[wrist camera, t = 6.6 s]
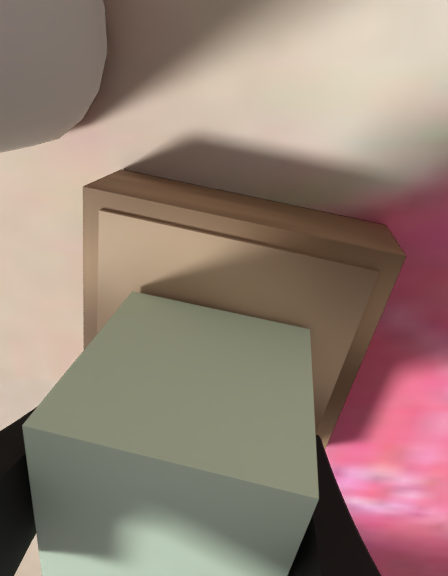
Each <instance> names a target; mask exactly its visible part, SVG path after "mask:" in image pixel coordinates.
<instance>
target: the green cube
mask: <svg viewBox="0 0 448 576" xmlns="http://www.w3.org/2000/svg"><path fill="white" fill-rule="evenodd" d="M22 428H23V436H24V443H25V451H26V458H27V466H28V473H29V481H30V488H31V496H32V503H33V511H34V518H35V526H36V533H37V541H38V548H39V556H40V563H41V571H42V576H287V575H288V573H289V571H290V568H291V566H292V563H293V561H294V558H295V556H296V554H297V551H298V549H299V546H300V544H301V541H302V539H303V537H304V534H305V532H306V529H307V527H308V524H309V522H310V520H311V517H312V515H313V512H314V510H315V508H316V505H317V503H318V500H319V490H318V471H317V452H316V434H315V415H314V396H313V377H312V358H311V340H310V329H307V328H302V327H297V326H293V325H288V324H283V323H279V322H274V321H269V320H265V319H260V318H255V317H251V316H246V315H241V314H237V313H232V312H227V311H223V310H218V309H213V308H208V307H204V306H199V305H194V304H190V303H185V302H180V301H176V300H171V299H166V298H162V297H157V296H152V295H148V294H143V293H138V292H134V291H132V292H131V294H130V295H129V296H128V297H127V299H126V300H125V301H124V302H123V303H122V305H121V306H120V307H119V308H118V309H117V311H116V312H115V313H114V314H113V316H112V317H111V318H110V319H109V320H108V322H107V323H106V324H105V325H104V326H103V328H102V329H101V330H100V331H99V333H98V334H97V335H96V336H95V337H94V339H93V340H92V341H91V342H90V344H89V345H88V346H87V347H86V348H85V350H84V351H83V352H82V353H81V354H80V356H79V357H78V358H77V359H76V361H75V362H74V363H73V364H72V365H71V367H70V368H69V369H68V370H67V371H66V373H65V374H64V375H63V376H62V378H61V379H60V380H59V381H58V382H57V384H56V385H55V386H54V387H53V389H52V390H51V391H50V392H49V393H48V395H47V396H46V397H45V398H44V399H43V401H42V402H41V403H40V404H39V406H38V407H37V408H36V409H35V410H34V412H33V413H32V414H31V415H30V416H29V418H28V419H27V420H26V421H25V423H24V424H23V425H22Z"/></svg>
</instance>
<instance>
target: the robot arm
mask: <svg viewBox="0 0 448 576" xmlns="http://www.w3.org/2000/svg"><path fill="white" fill-rule="evenodd" d="M36 408H37V407H36ZM36 408H35V409H36ZM35 409H33V410H32V411H30V412H29V413H27V414H26V415H24V416H23V417H21V418H20V419H18V420H17V421H15V422H14V423H12V424H11V425H9V426H8V427H6V428H4V429H3V430H1V431H0V576H14V574H15V572H16V571H17V569H18V567H19V565H20V563H21V561H22V559H23V557H24V555H25V553H26V551H27V549H28V547H29V545H30V543H31V542H32V540H33V538H34V536H35V535H36V526H35V518H34V511H33V503H32V496H31V488H30V481H29V473H28V466H27V458H26V451H25V443H24V436H23V428H22V425H23V424H24V423H25V421H26V420H27V419H28V418H29V416H30V415H31V414H32V413H33V412H34V410H35ZM316 452H317V471H318V490H319V500H318V503H317V505H316V508H315V510H314V512H313V515H312V517H311V520H310V522H309V524H308V527H307V529H306V532H305V534H304V537H303V539H302V541H301V544H300V546H299V549H298V551H297V554H296V556H295V558H294V561H293V563H292V566H291V568H290V571H289V573H288V575H287V576H381V574H380V572H379V571H378V569H377V567H376V565H375V563H374V562H373V560H372V558H371V556H370V554H369V552H368V550H367V548H366V546H365V544H364V542H363V540H362V538H361V536H360V534H359V532H358V530H357V528H356V526H355V524H354V521H353V519H352V517H351V515H350V513H349V510H348V508H347V506H346V503H345V501H344V499H343V496H342V494H341V492H340V489H339V487H338V484H337V482H336V479H335V477H334V474H333V471H332V469H331V466H330V463H329V461H328V458H327V455H326V452H325V449H324V446H323V443H322V439H321V438H320V436H319V435H316Z"/></svg>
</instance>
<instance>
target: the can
mask: <svg viewBox="0 0 448 576" xmlns="http://www.w3.org/2000/svg"><path fill="white" fill-rule="evenodd" d="M106 56H107V36H106V18H105V5H104V2H103V0H0V153H1V152H6V151H10V150H15V149H20V148H25V147H30V146H34V145H37V144H41V143H44V142H48V141H51V140H55V139H59V138H60V137H61V136H62V135H64V134H65V133H66V132H67V131H69V130H70V129H71V128H72V127H74V126H75V125H76V124H77V123H79V122H80V121H81V120H82V119H83V117H84V116H85V114H86V112H87V111H88V109H89V107H90V105H91V104H92V102H93V100H94V98H95V97H96V95H97V93H98V91H99V89H100V84H101V79H102V75H103V70H104V65H105V61H106Z"/></svg>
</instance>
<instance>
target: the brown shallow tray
mask: <svg viewBox="0 0 448 576" xmlns="http://www.w3.org/2000/svg"><path fill="white" fill-rule="evenodd" d="M405 258H406V255H405V253H404V252H403V250H402V249H401V247H400V246H399V244H398V242H397V241H396V239H395V238H394V236H393V235H392V233H391V232H390V230H389V229H388V227H387V226H386V225H384V224H379V223H374V222H369V221H365V220H360V219H355V218H350V217H346V216H341V215H336V214H331V213H326V212H322V211H317V210H312V209H307V208H303V207H298V206H293V205H288V204H284V203H279V202H274V201H269V200H265V199H260V198H255V197H250V196H246V195H241V194H236V193H231V192H226V191H222V190H217V189H212V188H207V187H203V186H198V185H193V184H188V183H184V182H179V181H174V180H169V179H165V178H160V177H155V176H150V175H145V174H141V173H136V172H131V171H126V170H122V169H121V170H119V171H117V172H114V173H112V174H110V175H108V176H105V177H103V178H101V179H99V180H96V181H94V182H92V183H90V184H88V185H85V186H83V299H84V350H85V348H86V347H87V346H88V345H89V344H90V342H91V341H92V340H93V339H94V337H95V336H96V335H97V334H98V333H99V331H100V330H101V329H102V328H103V326H104V325H105V324H106V323H107V322H108V320H109V319H110V318H111V317H112V316H113V314H114V313H115V312H116V311H117V309H118V308H119V307H120V306H121V305H122V303H123V302H124V301H125V300H126V299H127V297H128V296H129V295H130V294H131V292H132V291H134V292H138V293H143V294H148V295H152V296H157V297H162V298H166V299H171V300H176V301H180V302H185V303H190V304H194V305H199V306H204V307H208V308H213V309H218V310H223V311H227V312H232V313H237V314H241V315H246V316H251V317H255V318H260V319H265V320H269V321H274V322H279V323H283V324H288V325H293V326H297V327H302V328H307V329H310V340H311V358H312V377H313V396H314V415H315V434H316V435H319V436H320V438H321V439H322V443H323V446H324V449H325V448H326V446H327V444H328V441H329V439H330V436H331V434H332V432H333V429H334V427H335V425H336V422H337V420H338V417H339V415H340V413H341V410H342V408H343V406H344V403H345V401H346V398H347V396H348V394H349V391H350V389H351V386H352V384H353V382H354V379H355V377H356V375H357V372H358V370H359V367H360V365H361V363H362V360H363V358H364V356H365V353H366V351H367V348H368V346H369V344H370V341H371V339H372V336H373V334H374V332H375V329H376V327H377V325H378V322H379V320H380V317H381V315H382V313H383V310H384V308H385V306H386V303H387V301H388V298H389V296H390V294H391V291H392V289H393V286H394V284H395V282H396V279H397V277H398V275H399V272H400V270H401V267H402V265H403V263H404V260H405Z"/></svg>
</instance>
